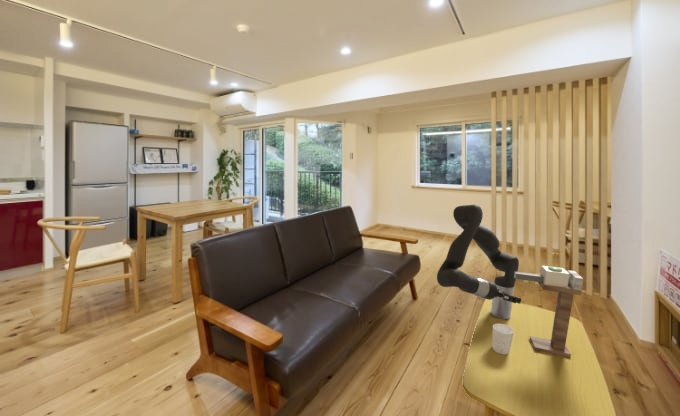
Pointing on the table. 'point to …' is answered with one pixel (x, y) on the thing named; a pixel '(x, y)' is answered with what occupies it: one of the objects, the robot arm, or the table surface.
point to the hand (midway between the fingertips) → (512, 297)
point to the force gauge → (547, 276)
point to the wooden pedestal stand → (560, 317)
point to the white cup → (502, 338)
